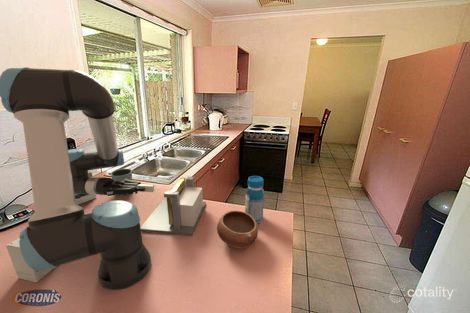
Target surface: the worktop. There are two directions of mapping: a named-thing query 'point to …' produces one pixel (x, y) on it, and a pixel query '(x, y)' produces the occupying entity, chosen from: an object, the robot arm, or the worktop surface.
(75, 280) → the worktop surface
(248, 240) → the bowl
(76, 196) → the tea box
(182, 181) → the tan rectangular upright panel
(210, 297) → the worktop surface
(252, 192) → the beverage bottle
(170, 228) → the base
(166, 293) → the worktop surface
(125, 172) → the drinking glass
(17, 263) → the supplement box
